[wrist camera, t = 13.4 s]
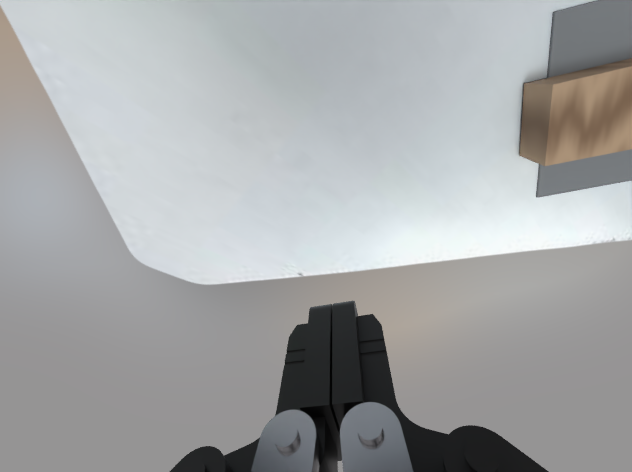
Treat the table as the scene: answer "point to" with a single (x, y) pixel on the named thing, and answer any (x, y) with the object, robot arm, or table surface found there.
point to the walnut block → (578, 114)
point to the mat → (578, 54)
